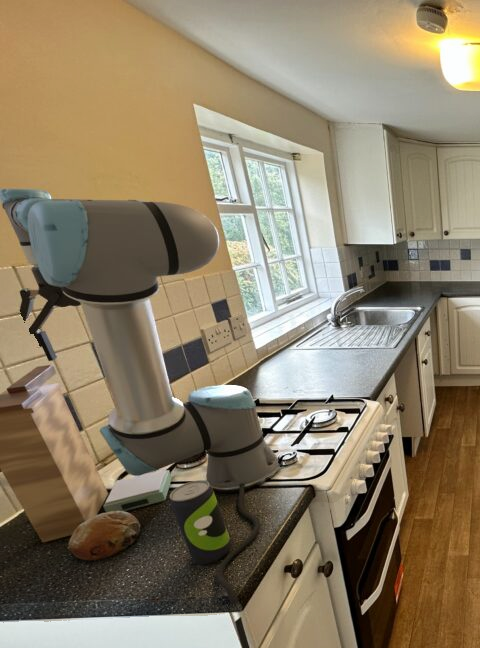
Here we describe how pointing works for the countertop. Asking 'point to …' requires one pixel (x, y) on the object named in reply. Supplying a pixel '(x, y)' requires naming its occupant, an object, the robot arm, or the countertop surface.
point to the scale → (138, 491)
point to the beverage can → (200, 521)
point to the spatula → (26, 389)
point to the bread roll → (104, 535)
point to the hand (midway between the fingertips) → (91, 354)
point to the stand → (50, 465)
